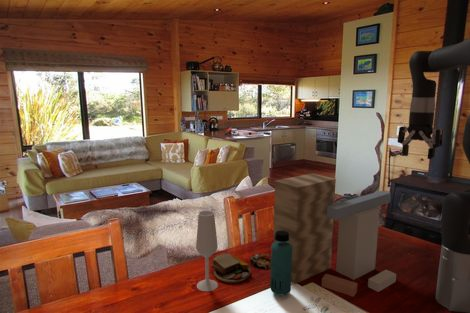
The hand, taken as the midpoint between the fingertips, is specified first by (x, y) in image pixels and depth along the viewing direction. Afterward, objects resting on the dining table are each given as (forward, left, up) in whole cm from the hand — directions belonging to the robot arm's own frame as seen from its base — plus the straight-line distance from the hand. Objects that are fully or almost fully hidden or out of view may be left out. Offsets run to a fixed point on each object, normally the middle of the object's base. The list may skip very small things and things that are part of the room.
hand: (417, 157), depth 120 cm
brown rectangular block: (-26, +28, -38) cm, 54 cm away
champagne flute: (-31, +69, -38) cm, 85 cm away
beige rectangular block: (-21, +14, -38) cm, 46 cm away
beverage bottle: (-32, +46, -38) cm, 68 cm away
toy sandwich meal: (-23, +63, -38) cm, 77 cm away
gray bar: (-13, +21, -16) cm, 29 cm away
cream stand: (-13, +21, -38) cm, 45 cm away
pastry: (-14, +52, -39) cm, 66 cm away
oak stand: (-16, +39, -38) cm, 57 cm away
